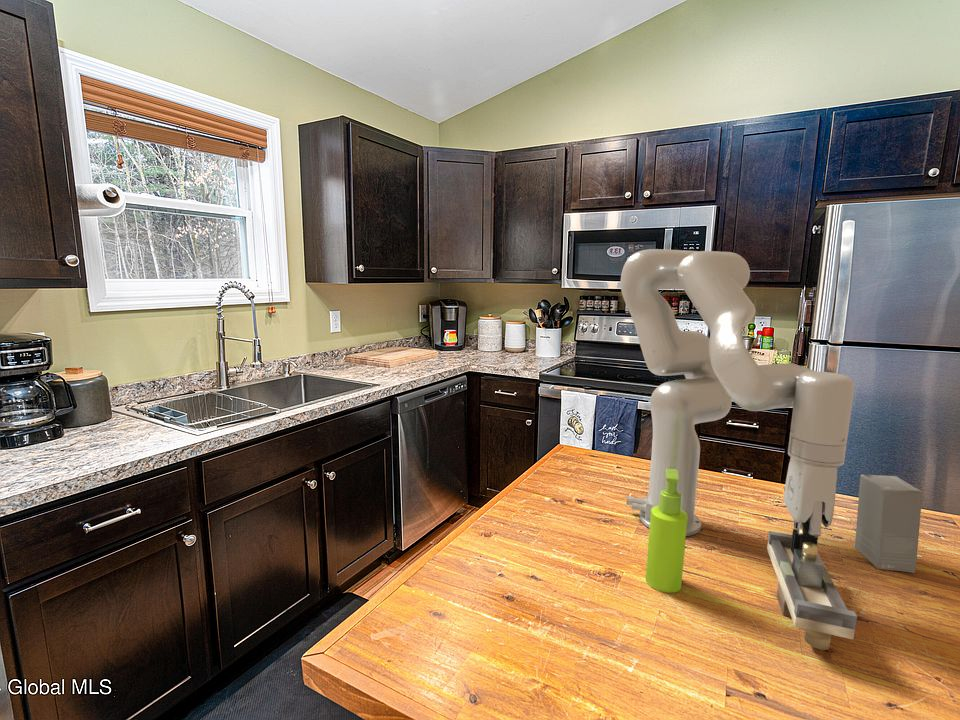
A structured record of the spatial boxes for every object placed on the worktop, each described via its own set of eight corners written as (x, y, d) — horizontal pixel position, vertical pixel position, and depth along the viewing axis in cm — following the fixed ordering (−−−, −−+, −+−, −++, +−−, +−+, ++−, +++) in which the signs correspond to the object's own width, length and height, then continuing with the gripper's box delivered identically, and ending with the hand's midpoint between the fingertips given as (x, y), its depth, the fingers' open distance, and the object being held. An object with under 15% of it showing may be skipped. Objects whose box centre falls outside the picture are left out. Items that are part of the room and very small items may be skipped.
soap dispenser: (680, 573, 90) (689, 468, 87) (682, 596, 83) (692, 483, 80) (646, 566, 92) (654, 463, 88) (645, 588, 85) (654, 478, 82)
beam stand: (791, 651, 71) (797, 604, 70) (764, 568, 92) (769, 530, 90) (849, 665, 69) (857, 616, 68) (808, 577, 89) (814, 538, 88)
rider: (797, 584, 78) (801, 549, 77) (791, 570, 82) (795, 537, 81) (821, 589, 77) (826, 553, 76) (814, 575, 80) (818, 540, 79)
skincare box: (916, 574, 91) (930, 493, 88) (871, 569, 92) (884, 489, 89) (888, 550, 99) (901, 474, 96) (848, 545, 100) (859, 471, 97)
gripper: (779, 433, 87) (768, 530, 90) (800, 462, 74) (786, 575, 77) (829, 438, 85) (816, 537, 88) (861, 469, 71) (844, 586, 74)
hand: (802, 555), depth 82 cm, fingers closed
